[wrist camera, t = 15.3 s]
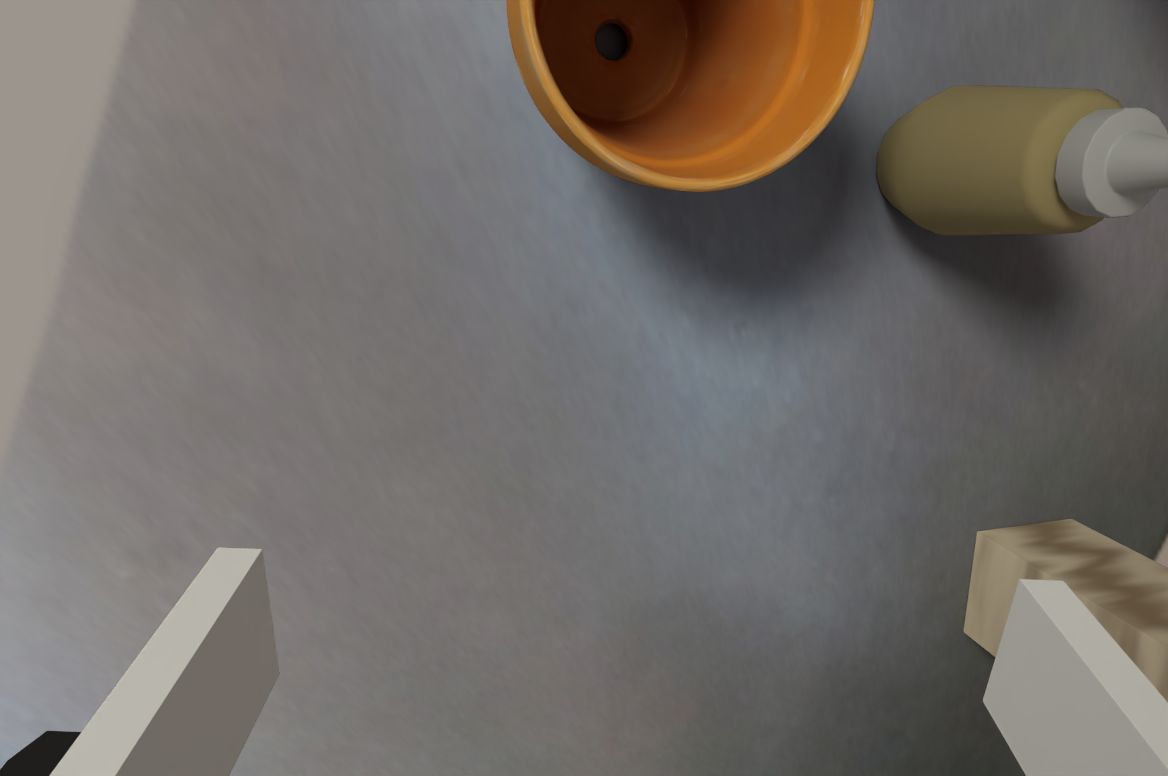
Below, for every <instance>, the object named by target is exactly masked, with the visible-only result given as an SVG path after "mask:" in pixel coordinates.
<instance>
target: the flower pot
mask: <svg viewBox="0 0 1168 776" xmlns="http://www.w3.org/2000/svg"><path fill="white" fill-rule="evenodd" d="M874 2H875V0H507V17H508V27H509V33H510V38H511V43H512V48H513V52H514V56H515V59H516V63H517V66H518V68H519V71H520V74H521V77H522V79H523V81H524V84H525V86H526V88H527V90H528V92H529V94H530V96H531V98H532V100H533V101H534V103H535V105H536V106H537V108H538V110H539V111H540V113H541V114H542V116H543V117H544V118H545V120H546V121H547V123H548V124H549V125H550V127H551V128H552V129H553V130H554V131H555V132H556V133H557V134H558V136H559V137H560V138H561V139H562V140H563V141H564V142H565V143H566V144H567V145H568V146H569V147H570V148H572V149H573V150H574V151H575V152H576V153H578V154H579V155H580V156H581V157H583V158H584V159H586V160H587V161H589V162H590V163H592V164H593V165H595V166H597V167H598V168H600V169H602V170H604V171H606V172H608V173H610V174H612V175H615V176H617V177H620V178H622V179H625V180H628V181H631V182H634V183H638V184H642V185H646V186H651V187H656V188H663V189H670V190H677V191H689V192H709V191H718V190H724V189H729V188H734V187H738V186H741V185H745V184H748V183H750V182H753V181H755V180H758V179H760V178H762V177H764V176H767V175H769V174H771V173H772V172H774V171H776V170H777V169H779V168H781V167H782V166H784V165H785V164H787V163H788V162H790V161H791V160H792V159H794V158H795V157H796V156H798V155H799V154H800V153H801V152H802V151H803V150H805V149H806V148H807V147H808V146H809V145H810V144H811V143H812V142H813V141H814V140H815V139H816V138H817V137H818V136H819V135H820V133H821V132H822V131H823V130H824V129H825V128H826V126H827V125H828V124H829V123H830V121H831V120H832V119H833V117H834V116H835V115H836V113H837V112H838V110H839V108H840V107H841V105H842V104H843V102H844V100H845V99H846V97H847V95H848V93H849V91H850V89H851V87H852V85H853V83H854V80H855V78H856V76H857V73H858V71H859V68H860V66H861V63H862V60H863V57H864V54H865V51H866V48H867V44H868V39H869V35H870V30H871V25H872V19H873V11H874ZM608 23H613V24H617V25H618V26H620V27H621V28H622V29H623V31H624V32H625V34H626V37H627V49H626V51H625V53H624V54H623V56H622V57H621V58H620V59H618V60H615V61H611V60H607V59H605V58H604V57H602V56H601V55H600V54H599V52H598V50H597V48H596V44H595V37H596V33H597V32H598V30H599V29H600V28H601V27H602V26H604V25H605V24H608Z"/></svg>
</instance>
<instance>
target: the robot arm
mask: <svg viewBox="0 0 1168 776" xmlns="http://www.w3.org/2000/svg"><path fill="white" fill-rule="evenodd" d="M279 674H280V672H279V665H278V658H277V651H276V644H275V637H274V630H273V623H272V615H271V608H270V601H269V594H268V587H267V580H266V573H265V566H264V559H263V552H262V549H242V548H217V549H216V551H215V552H214V553H213V555H212V556H211V558H210V559H209V560H208V562H207V563H206V564H205V566H204V567H203V568H202V570H201V571H200V572H199V574H198V575H197V576H196V578H195V579H194V581H193V582H192V583H191V585H190V586H189V587H188V589H187V590H186V591H185V593H184V594H183V595H182V597H181V598H180V600H179V601H178V602H177V604H176V605H175V606H174V608H173V609H172V610H171V612H170V613H169V614H168V616H167V617H166V618H165V620H164V621H163V623H162V624H161V625H160V627H159V628H158V629H157V631H156V632H155V633H154V635H153V636H152V637H151V639H150V640H149V641H148V643H147V644H146V646H145V647H144V648H143V650H142V651H141V652H140V654H139V655H138V656H137V658H136V659H135V660H134V662H133V663H132V665H131V666H130V667H129V669H128V670H127V671H126V673H125V674H124V675H123V677H122V678H121V679H120V681H119V682H118V683H117V685H116V686H115V688H114V689H113V690H112V692H111V693H110V694H109V696H108V697H107V698H106V700H105V701H104V702H103V704H102V705H101V706H100V708H99V709H98V711H97V712H96V713H95V715H94V716H93V717H92V719H91V720H90V721H89V723H88V724H87V725H86V727H85V728H84V730H83V731H82V732H63V731H46V732H45V733H44V734H42V735H41V736H40V737H38V738H37V739H36V740H34V741H33V742H32V743H30V744H29V745H28V746H26V747H25V748H24V749H22V750H21V751H20V752H18V753H17V754H16V755H14V756H13V757H12V758H10V759H9V760H8V761H7V762H6V763H5V765H4V766H3V767H2V768H1V769H0V776H229V775H230V773H231V771H232V769H233V767H234V765H235V763H236V761H237V759H238V757H239V755H240V753H241V751H242V749H243V746H244V744H245V742H246V740H247V738H248V736H249V734H250V732H251V730H252V728H253V726H254V724H255V722H256V720H257V718H258V716H259V714H260V712H261V710H262V708H263V706H264V704H265V702H266V700H267V698H268V696H269V694H270V692H271V690H272V688H273V686H274V684H275V682H276V680H277V678H278V676H279ZM983 702H984V704H985V706H986V708H987V709H988V711H989V713H990V714H991V716H992V718H993V720H994V721H995V723H996V725H997V726H998V728H999V730H1000V732H1001V733H1002V735H1003V737H1004V738H1005V740H1006V742H1007V744H1008V745H1009V747H1010V749H1011V751H1012V752H1013V754H1014V756H1015V757H1016V759H1017V761H1018V763H1019V764H1020V766H1021V768H1022V769H1023V771H1024V773H1025V775H1026V776H1168V702H1167V701H1166V700H1165V699H1164V697H1163V696H1162V695H1161V694H1160V693H1159V692H1158V690H1157V689H1156V688H1155V687H1154V686H1153V685H1152V683H1151V682H1150V681H1149V680H1148V679H1147V678H1146V676H1145V675H1144V674H1143V673H1142V672H1141V671H1140V669H1139V668H1138V667H1137V666H1136V665H1135V664H1134V662H1133V661H1132V660H1131V659H1130V658H1129V657H1128V655H1127V654H1126V653H1125V652H1124V651H1123V650H1122V649H1121V647H1120V646H1119V645H1118V644H1117V643H1116V642H1115V640H1114V639H1113V638H1112V637H1111V636H1110V635H1109V633H1108V632H1107V631H1106V630H1105V629H1104V628H1103V626H1102V625H1101V624H1100V623H1099V622H1098V621H1097V619H1096V618H1095V617H1094V616H1093V615H1092V614H1091V612H1090V611H1089V610H1088V609H1087V608H1086V607H1085V605H1084V604H1083V603H1082V602H1081V601H1080V600H1079V598H1078V597H1077V596H1076V595H1075V594H1074V593H1073V591H1072V590H1071V589H1070V588H1069V587H1068V586H1067V584H1066V583H1065V582H1064V581H1055V580H1030V579H1019V582H1018V585H1017V589H1016V592H1015V595H1014V598H1013V602H1012V605H1011V608H1010V612H1009V615H1008V618H1007V622H1006V625H1005V628H1004V632H1003V635H1002V638H1001V641H1000V645H999V648H998V651H997V655H996V658H995V661H994V665H993V668H992V671H991V675H990V678H989V681H988V684H987V688H986V691H985V694H984V698H983Z"/></svg>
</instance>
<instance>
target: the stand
mask: <svg viewBox="0 0 1168 776" xmlns="http://www.w3.org/2000/svg"><path fill="white" fill-rule="evenodd" d="M1019 579H1030V580H1055V581H1064V582H1065V583H1066V584H1067V586H1068V587H1069V588H1070V589H1071V590H1072V591H1073V593H1074V594H1075V595H1076V596H1077V597H1078V598H1079V600H1080V601H1081V602H1082V603H1083V604H1084V605H1085V607H1086V608H1087V609H1088V610H1089V611H1090V612H1091V614H1092V615H1093V616H1094V617H1095V618H1096V619H1097V621H1098V622H1099V623H1100V624H1101V625H1102V626H1103V628H1104V629H1105V630H1106V631H1107V632H1108V633H1109V635H1110V636H1111V637H1112V638H1113V639H1114V640H1115V642H1116V643H1117V644H1118V645H1119V646H1120V647H1121V649H1122V650H1123V651H1124V652H1125V653H1126V654H1127V655H1128V657H1129V658H1130V659H1131V660H1132V661H1133V662H1134V664H1135V665H1136V666H1137V667H1138V668H1139V669H1140V671H1141V672H1142V673H1143V674H1144V675H1145V676H1146V678H1147V679H1148V680H1149V681H1150V682H1151V683H1152V685H1153V686H1154V687H1155V688H1156V689H1157V690H1158V692H1159V693H1160V694H1161V695H1162V696H1163V697H1164V699H1165V700H1166V701H1167V702H1168V568H1166V567H1165V566H1162V565H1161V564H1159V563H1157V562H1155V561H1153V560H1151V559H1149V558H1147V557H1145V556H1143V555H1141V554H1139V553H1137V552H1135V551H1133V550H1131V549H1130V548H1128V547H1126V546H1124V545H1122V544H1120V543H1118V542H1116V541H1114V540H1112V539H1110V538H1108V537H1106V536H1104V535H1102V534H1100V533H1098V532H1096V531H1094V530H1092V529H1090V528H1088V527H1086V526H1084V525H1083V524H1081V523H1079V522H1077V521H1075V520H1073V519H1065V520H1058V521H1051V522H1043V523H1036V524H1029V525H1021V526H1014V527H1007V528H999V529H992V530H985V531H978V532H977V537H976V544H975V551H974V558H973V565H972V573H971V580H970V587H969V594H968V602H967V609H966V616H965V623H964V631H963V632H964V633H965V634H967V635H968V636H969V637H970V638H972V639H973V640H974V641H975V642H977V643H978V644H979V645H981V646H982V647H983V648H984V649H986V650H987V651H988V652H989V653H991V654H992V655H993V656H994V657H996V655H997V651H998V648H999V645H1000V641H1001V638H1002V635H1003V632H1004V628H1005V625H1006V622H1007V618H1008V615H1009V612H1010V608H1011V605H1012V602H1013V598H1014V595H1015V592H1016V589H1017V585H1018V582H1019Z"/></svg>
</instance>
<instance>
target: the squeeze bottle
mask: <svg viewBox="0 0 1168 776" xmlns="http://www.w3.org/2000/svg"><path fill="white" fill-rule="evenodd" d="M876 176H877V179H878V182H879V186H880V189H881V192H882V193H883V195H884V196H885V197H886V198H887V199H888V201H889V202H890V203H891V204H892V205H893V206H894V207H895V208H896V209H898V210H899V211H900V212H902V213H903V214H904V215H905V216H907V217H908V218H909V219H910V220H912V221H913V222H914V223H916V224H917V225H918V226H920V227H922V228H924V229H927V230H929V231H931V232H934V233H936V234H939V235H1009V234H1062V233H1074V232H1081V231H1083V230H1085V229H1087V228H1088V227H1090V226H1092V225H1094V224H1096V223H1098V222H1099V221H1101V220H1102V219H1103V218H1104V217H1106V218H1115V217H1127V216H1129V215H1131V214H1133V213H1134V212H1136V211H1138V210H1140V209H1142V208H1143V207H1144V206H1145V205H1146V204H1147V203H1148V202H1149V201H1150V200H1151V198H1152V197H1153V196H1154V195H1155V194H1156V193H1157V192H1158V190H1159V189H1162V188H1167V187H1168V133H1167V130H1166V128H1165V127H1164V125H1163V124H1162V122H1161V121H1160V119H1159V117H1158V116H1157V115H1156V114H1154V113H1152V112H1150V111H1148V110H1146V109H1145V108H1143V107H1141V108H1123V107H1122V105H1121V104H1120V102H1119V101H1118V100H1117V99H1115V98H1113V97H1112V96H1110V95H1108V94H1106V93H1104V92H1102V91H1100V90H1099V89H1069V88H1039V87H1009V86H979V85H977V86H952V87H950V88H948V89H947V90H945V91H943V92H941V93H939V94H937V95H935V96H933V97H931V98H929V99H928V100H926V101H925V102H923V103H922V104H920V105H919V106H917V107H916V108H914V109H913V110H911V111H910V112H908V113H907V114H905V115H904V116H902V117H901V118H899V119H898V120H897V121H896V122H895V123H894V125H893V126H892V127H891V128H890V129H889V130H888V132H887V133H886V134H885V136H884V138H883V141H882V143H881V146H880V148H879V151H878V153H877V166H876Z"/></svg>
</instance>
